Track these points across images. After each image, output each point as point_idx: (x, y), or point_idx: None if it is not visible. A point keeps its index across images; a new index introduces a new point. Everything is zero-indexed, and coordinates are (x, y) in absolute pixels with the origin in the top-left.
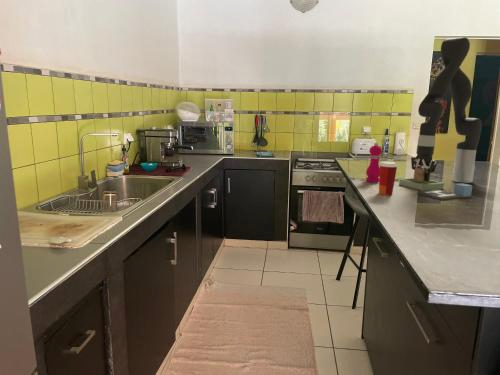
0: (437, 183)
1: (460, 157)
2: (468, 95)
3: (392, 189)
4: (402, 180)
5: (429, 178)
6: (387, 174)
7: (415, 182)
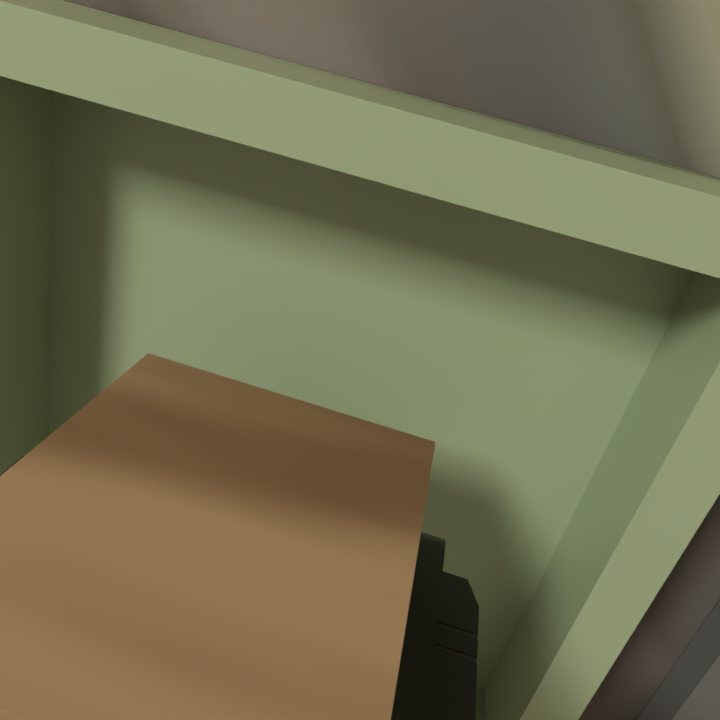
0: (712, 488)
1: None
2: None
3: None
4: None
5: (425, 492)
6: None
7: (42, 229)
